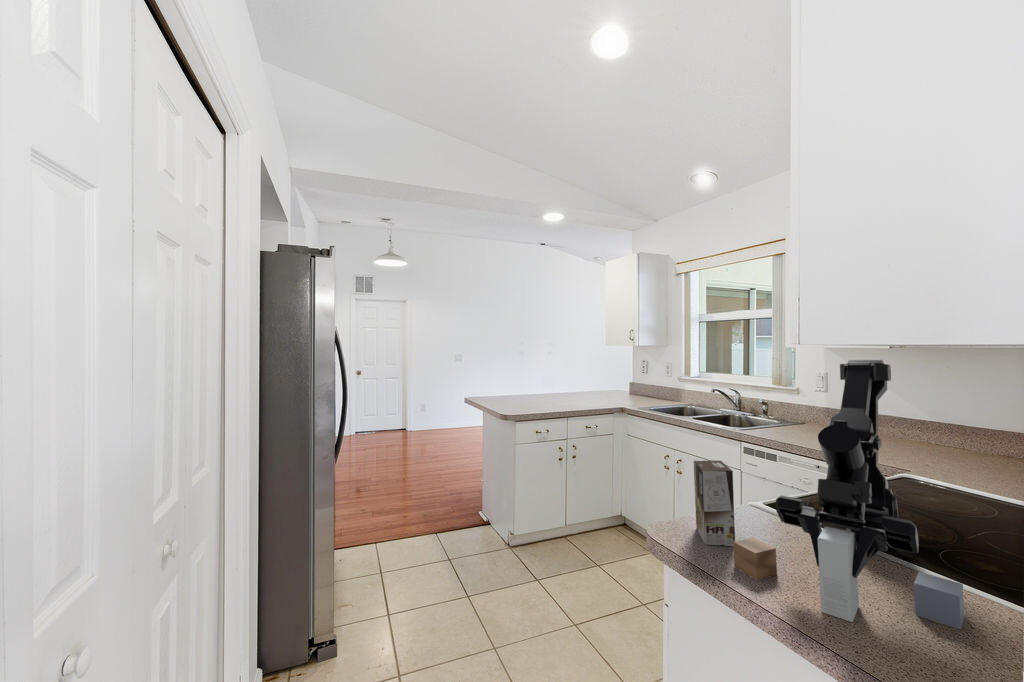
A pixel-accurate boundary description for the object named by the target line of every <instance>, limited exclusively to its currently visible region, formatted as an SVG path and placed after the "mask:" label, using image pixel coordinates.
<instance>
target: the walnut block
mask: <svg viewBox="0 0 1024 682" xmlns="http://www.w3.org/2000/svg"><path fill="white" fill-rule="evenodd" d="M733 545H734V546H733V563H734V564H733V565H734V566H733V567H734V568H735V567H736V568H737V569H736V568H735V569H736V570H738V569H739V570H738V571H740V570H741V571H742V572H741V571H740V572H741V573H743V572H744V573H743V574H745V575H747V576H748V575H749V576H748V577H750V576H751V577H750V578H752V577H753V578H752V579H754V580H755V579H756V580H755V581H759V580H763V579H767V578H770V576H771V577H774V576H777V575H778V570H777V569H778V567H777V547H774V546H772V545H770V544H768V543H766V542H764V541H761V540H760V539H757V538H755V537H749V538H744V539H740V540H735V542H733ZM766 577H767V578H766ZM762 578H763V579H762ZM758 579H759V580H758Z"/></svg>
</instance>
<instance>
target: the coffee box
mask: <svg viewBox="0 0 1024 682" xmlns="http://www.w3.org/2000/svg"><path fill="white" fill-rule="evenodd" d="M693 480H694V481H693V483H694V484H693V485H694V502H695V503H694V504H695V522H696V523H695V524H696V530H697V532H698V534H699V535H700V537H701V540H702V541H703V543H704V544H705V546H706V545H710V546H721V545H724V546H725V547H734V545H733V542H735V541H736V532H735V531H736V529H735V525H736V524H735V506H734V503H735V502H734V501H735V500H734V471H733V470H732V469H731V468H730V467H729V466H728V465H727V464H725V463H724V462H723V461H722V460H712V459H711V460H693ZM724 546H723V547H724Z"/></svg>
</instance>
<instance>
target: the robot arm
mask: <svg viewBox="0 0 1024 682" xmlns="http://www.w3.org/2000/svg"><path fill="white" fill-rule="evenodd" d="M839 377H840V378H839V380H840V381H841V380H842V381H844V385H843V393H842V399H841V406H840V410H839V412H838V413H836V414H834V415H833V416H832V417H830V422H829V425H828V426H826V427H824V428H823V429H821V430H820V431H819V433H818V434H817V441H818V443H819V447H820V450H821V452H822V456H823V460H824V461H825V463H826V465H827V473H826V478H818V479H817V495H816V497H817V499H818V506H819V507H820V508H821V510H820V509H819V510H818V509H817V508H815V507H811V506H806V505H805V502H804V500H803V499H802V498H796V497H792V496H791V497H790V496H788V495H787V496H786V495H780V496H779V497H777V498H776V499H775V503H774V509H775V511H776V513H777V515H778V517H779V520H780V521H781V523H784V524H785V525H790V526H795V527H798V528H799V527H800V528H801V529H802V531H803V532H804V533H805V534H809V536H810V539H811V544H812V548H813V553H814V557H815V560H816V565H817V568H819V557H818V537H819V535H820V533H821V532H822V530H823V528H822V527H821V526H822V524H825V525H830V526H834V527H839V528H844V529H845V531H849V532H853V533H855V540H856V553H855V557H854V562H853V569H852V575H853V577H854V578H858V576H859V575H860V574H861V572H862V571H863V570H864V568H865V567H866V565H867V564H868V562H869V561H870V560H871V559H872V558H873V557H874V556H875V555H876V554H877V553H878V552H879V551H880V552H881V551H882V552H887V551H888V549H892V550H895V551H900V552H906V553H910V554H919V534H918V529H917V525H916V524H915V523H914V522H913V521H912V520H908V519H903V518H899V509H898V502H897V497H896V496H895V495H894V493H893V490H892V488H889V482H888V479H887V478H886V476H885V475H884V473H883V472H882V470H881V469H880V468H879V450H880V448H882V439H881V438H880V436H879V400H880V399H881V398H882V396H884V394H885V393H886V392H887V391H888V382H890V381H892V369H891V365H890V364H886V363H884V360H883V359H848V361H847V362H845V363H840V364H839Z"/></svg>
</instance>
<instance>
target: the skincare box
mask: <svg viewBox="0 0 1024 682" xmlns="http://www.w3.org/2000/svg"><path fill="white" fill-rule="evenodd" d="M856 549H857V543H856V540H855V533H853V532H849V531H846V530H844V529H839V528H837V527H836V528H835V527H830V526H824V527H823V528H822V532H821V533H820V535H819V537H818V557H819V567H818V572H819V573H818V574H819V593H820V610H821V613H823V614H826V615H830V616H832V617H836V618H839V619H842V620H844V621H847V622H849V623H850V622H851V623H854V620H855V618H856V615H857V613H858V608H859V606H860V599H859V598H860V597H859V582H858V581H859V580H858V577H857V578H854V577H853V575H852V569H853V562H854V557H855V553H856Z"/></svg>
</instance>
